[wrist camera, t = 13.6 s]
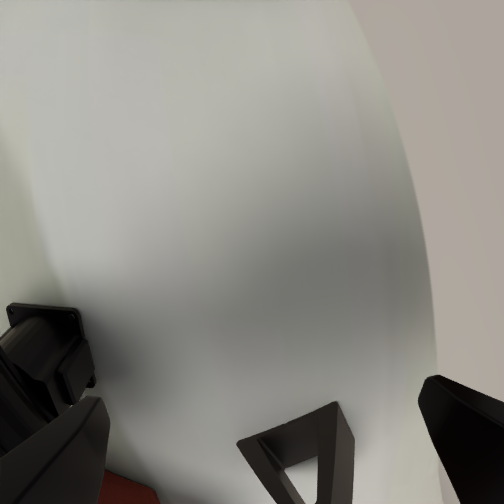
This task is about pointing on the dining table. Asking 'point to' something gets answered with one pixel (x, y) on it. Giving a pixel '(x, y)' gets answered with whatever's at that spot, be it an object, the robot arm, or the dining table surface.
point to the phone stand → (305, 455)
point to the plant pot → (124, 491)
